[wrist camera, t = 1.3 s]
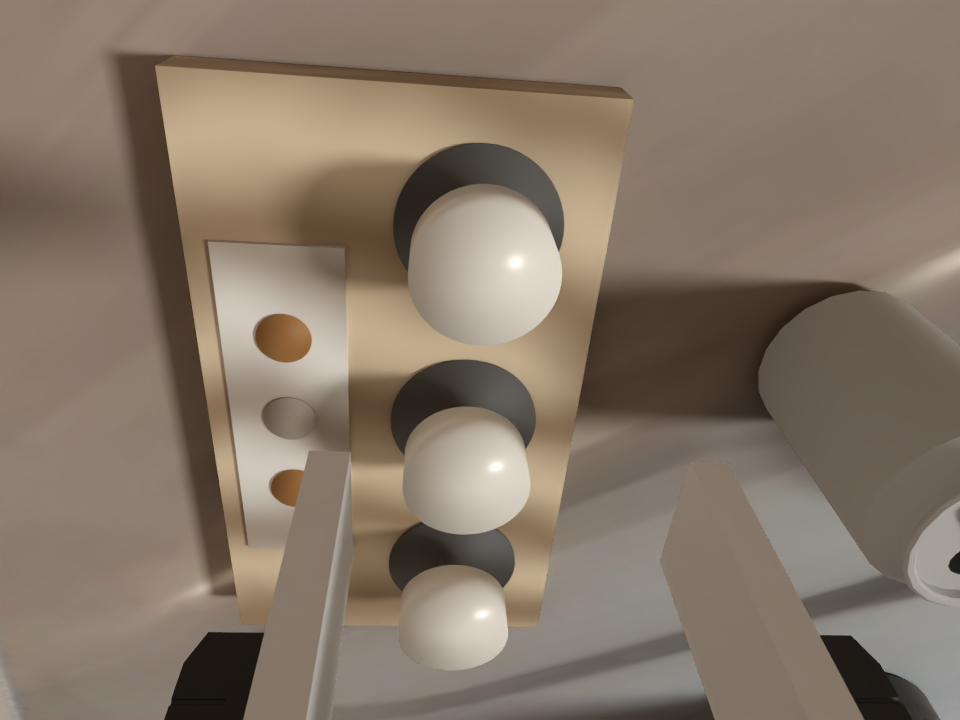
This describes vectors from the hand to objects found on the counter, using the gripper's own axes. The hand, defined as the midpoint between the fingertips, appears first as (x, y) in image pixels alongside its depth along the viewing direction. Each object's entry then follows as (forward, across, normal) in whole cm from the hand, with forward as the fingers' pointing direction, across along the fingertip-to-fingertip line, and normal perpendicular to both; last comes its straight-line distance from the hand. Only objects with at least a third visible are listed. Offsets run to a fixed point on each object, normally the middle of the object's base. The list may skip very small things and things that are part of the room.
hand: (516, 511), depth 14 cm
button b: (+13, 0, +9) cm, 15 cm away
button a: (+13, 0, +18) cm, 22 cm away
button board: (+17, +3, +9) cm, 19 cm away
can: (+17, -17, +6) cm, 25 cm away
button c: (+13, 0, 0) cm, 13 cm away
